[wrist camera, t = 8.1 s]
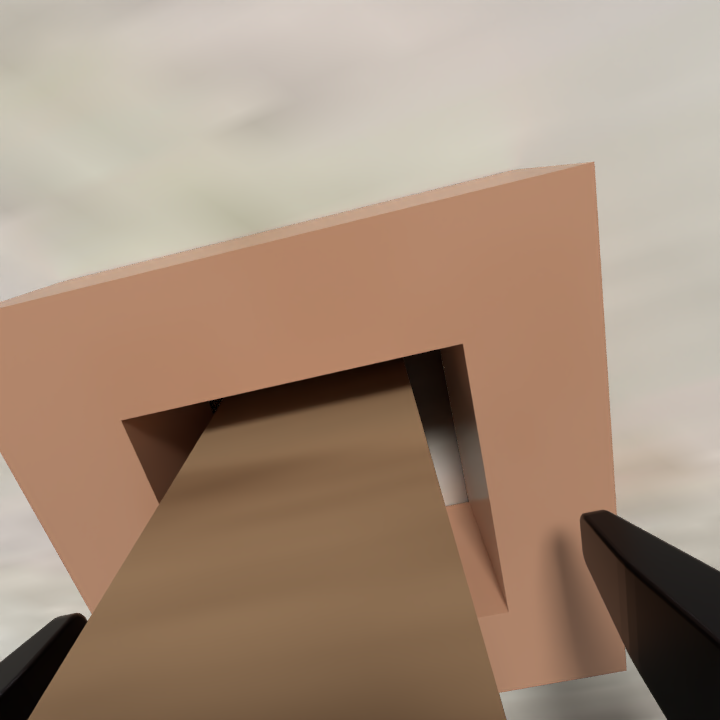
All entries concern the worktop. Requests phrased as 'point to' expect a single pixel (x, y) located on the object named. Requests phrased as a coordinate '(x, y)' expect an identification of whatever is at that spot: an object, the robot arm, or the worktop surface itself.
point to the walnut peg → (291, 575)
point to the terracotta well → (342, 352)
